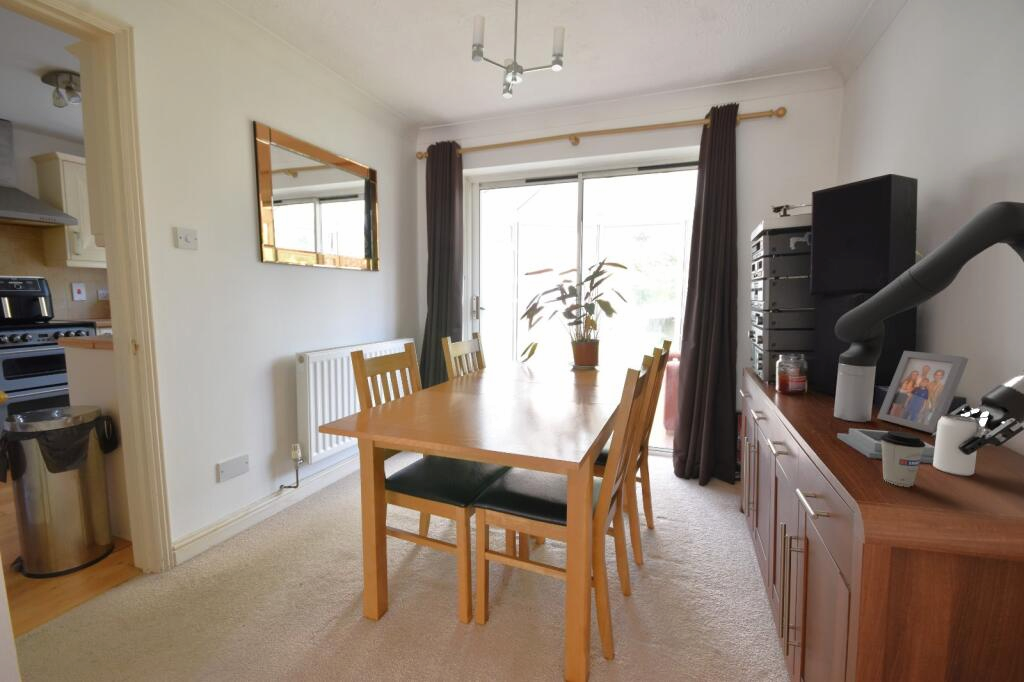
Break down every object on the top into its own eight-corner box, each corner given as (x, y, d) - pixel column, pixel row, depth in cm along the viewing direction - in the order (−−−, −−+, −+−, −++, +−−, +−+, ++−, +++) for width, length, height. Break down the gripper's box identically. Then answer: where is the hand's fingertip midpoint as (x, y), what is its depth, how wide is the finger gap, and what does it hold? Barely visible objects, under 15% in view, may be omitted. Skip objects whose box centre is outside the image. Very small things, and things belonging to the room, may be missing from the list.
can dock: (837, 437, 121) (838, 425, 120) (906, 443, 117) (907, 431, 117) (869, 457, 105) (870, 444, 105) (950, 465, 102) (952, 451, 101)
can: (982, 477, 94) (989, 422, 93) (946, 474, 96) (953, 420, 95) (958, 466, 101) (965, 414, 100) (925, 463, 102) (931, 412, 101)
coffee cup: (867, 475, 94) (871, 429, 93) (897, 475, 95) (902, 429, 94) (897, 489, 88) (903, 440, 87) (930, 489, 88) (936, 439, 87)
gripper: (979, 378, 101) (914, 423, 105) (1036, 390, 88) (959, 442, 91) (1005, 402, 101) (938, 447, 105) (1066, 419, 87) (987, 470, 91)
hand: (948, 445), depth 98 cm, fingers open, 8 cm apart
